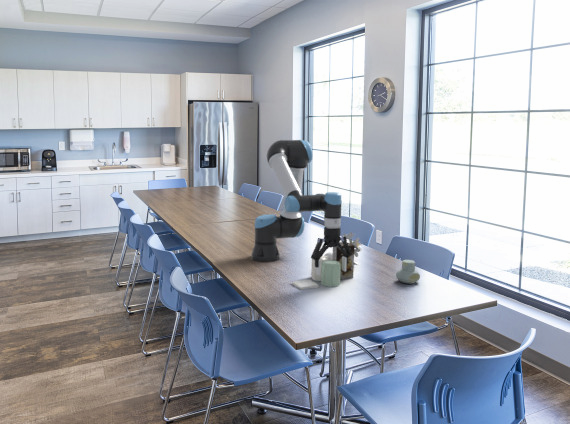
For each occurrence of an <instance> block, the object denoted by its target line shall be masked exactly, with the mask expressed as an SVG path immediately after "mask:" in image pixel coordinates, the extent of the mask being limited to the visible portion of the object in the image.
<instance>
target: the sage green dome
mask: <svg viewBox="0 0 570 424" xmlns="http://www.w3.org/2000/svg"><path fill="white" fill-rule="evenodd" d="M340 273H341V264H340V262H338V261H332V260H328V261H323V262H322V269H321V281H320V284H321V285H322V286H324V287H329V288H330V287H331V288H333V287H334V288H335V287H339V286H340V284H341V279H340Z"/></svg>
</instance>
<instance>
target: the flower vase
mask: <svg viewBox="0 0 570 424" xmlns="http://www.w3.org/2000/svg"><path fill="white" fill-rule="evenodd" d="M355 235H356V233H353V232H349V233H348V234H347V233H346V234H345V233H344V234H342V236H345V237H346V240H347V241H349V242H348V243H351V244H353V245H355V250H354V257H355V258H358V257H359V252H362V250H363V249H362V248H361V247H362V243H361V242H360V237H359V236H358V237H357V238H355V239H354V240H353V239H352V238H353V237H354V236H355ZM339 243H342V241H341V240H340V242H339ZM332 254H333V252H331V251H330V252H326V253H324V254H323V256H327V257H329V258H330V260H332ZM354 265H359V263H358V262H357V261H355V260H354Z"/></svg>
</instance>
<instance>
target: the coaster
mask: <svg viewBox="0 0 570 424" xmlns="http://www.w3.org/2000/svg"><path fill="white" fill-rule="evenodd" d="M291 285H293V286H294V287H296V288H297V289H299V290H302V291H303V290H309V289H314V288H319V284H318V283H316V282H314V280H311V279H302V280H294V281H291Z"/></svg>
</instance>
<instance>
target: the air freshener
mask: <svg viewBox="0 0 570 424" xmlns="http://www.w3.org/2000/svg"><path fill="white" fill-rule="evenodd" d="M395 277H396V279H397V280H398V281H399V282H401V283H404V284H408V285H412V284H416V282H418V281H419V280H420V279H421V275H420V273H419V271H418V270H417V269H416V262H415V260H412V259H404V260H402V261H401V269H398V271H396V273H395Z"/></svg>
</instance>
